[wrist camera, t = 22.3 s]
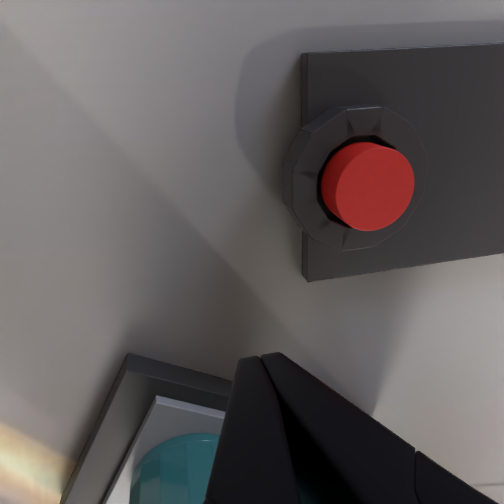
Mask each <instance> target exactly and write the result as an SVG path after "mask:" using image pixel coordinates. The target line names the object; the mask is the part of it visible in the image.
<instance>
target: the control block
mask: <svg viewBox="0 0 504 504" xmlns="http://www.w3.org/2000/svg"><path fill="white" fill-rule="evenodd" d="M356 142H371V143H374V144H377V145H381V146H384V147H387V148H391V149H394V150H396V151H398V152H399V153H401V154H402V155H403V156H404V157H405V158H406V159H407V160H408V162H409V163H410V165H411V168H412V170H413V174H414V190H413V195H412V198H411V200H410V203H409V204H408V206H407V208H406V209H405V211H404V212H403V213H402V215H401V216H400V217H399V218H398V219H397V220H395V221H394V222H393V223H391V224H390V225H388V226H386V227H384V228H381V229H378V230H374V231H362V230H357V229H355V228H353V227H351V226H349V225H348V224H346V223H345V222H344V221H343V220H341V219H340V218H339V217H337V216H336V215H335V214H333V213H332V212H331V211H330V210H329V209H328V208H327V206H326V205H325V203H324V201H323V198H322V194H321V179H322V175H323V172H324V169H325V167H326V165H327V163H328V162H329V160H330V159H331V158H332V156H333V155H334V154H335V153H336V152H338V151H339V150H340V149H342V148H343V147H345V146H347V145H349V144H352V143H356ZM282 188H283V202H284V204H285V205H286V207H287V208H288V210H289V212H290V213H291V215H292V216H293V218H294V219H295V221H296V223H297V224H298V226H299V227H300V228H301V229H302V276H303V277H304V278H305V280H306V281H307V282H312V281H318V280H325V279H332V278H339V277H345V276H352V275H359V274H366V273H373V272H379V271H386V270H393V269H400V268H406V267H413V266H420V265H427V264H433V263H440V262H447V261H454V260H460V259H467V258H474V257H481V256H488V255H494V254H501V253H504V43H490V44H470V45H450V46H430V47H410V48H390V49H370V50H350V51H330V52H309V53H303V54H301V129H300V130H299V132H298V134H297V136H296V138H295V140H294V141H293V143H292V145H291V147H290V149H289V151H288V153H287V155H286V157H285V159H284V161H283V165H282Z"/></svg>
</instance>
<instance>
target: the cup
mask: <svg viewBox="0 0 504 504" xmlns="http://www.w3.org/2000/svg"><path fill="white" fill-rule="evenodd" d="M219 437H220V435H216V434H211V433H192V434H186V435H181V436H178V437H175V438H172V439H169V440H167V441H165V442H163V443H161V444H159V445H157V446H156V447H154V448H153V449H152V450H150V451H149V452H148V453H147V454H146V455H145V456H144V457H143V458H142V459H141V460H140V462H139V463H138V464H137V466H136V468H135V470H134V472H133V474H132V478H131V484H130V496H129V504H203V501H204V500H205V494H206V490H207V486H208V482H209V477H210V473H211V469H212V465H213V461H214V457H215V453H216V449H217V445H218V441H219Z"/></svg>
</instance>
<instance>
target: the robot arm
mask: <svg viewBox="0 0 504 504" xmlns="http://www.w3.org/2000/svg"><path fill="white" fill-rule="evenodd" d="M203 504H498V503H497V502H495V501H494V500H492V499H490V498H489V497H487V496H486V495H484V494H482V493H481V492H479V491H477V490H476V489H474V488H473V487H471V486H469V485H468V484H467V483H465V482H464V481H462V480H461V479H459V478H458V477H456V476H455V475H453V474H452V473H450V472H449V471H447V470H446V469H444V468H443V467H441V466H440V465H438V464H437V463H436V462H434V461H433V460H431V459H430V458H429V457H427V456H426V455H424V454H423V453H422V452H420V451H416V450H415V448H414V447H413V446H411V445H410V444H409V443H407V442H406V441H404V440H403V439H402V438H400V437H399V436H397V435H396V434H395V433H393V432H392V431H390V430H389V429H388V428H386V427H385V426H383V425H382V424H381V423H379V422H378V421H376V420H375V419H373V418H372V417H371V416H369V415H368V414H366V413H365V412H364V411H362V410H361V409H359V408H358V407H357V406H355V405H354V404H352V403H351V402H350V401H348V400H347V399H345V398H344V397H343V396H341V395H340V394H338V393H337V392H336V391H334V390H333V389H331V388H330V387H328V386H327V385H326V384H324V383H323V382H321V381H320V380H319V379H317V378H316V377H314V376H313V375H312V374H310V373H309V372H307V371H306V370H305V369H303V368H302V367H300V366H299V365H298V364H296V363H295V362H293V361H292V360H291V359H289V358H288V357H286V356H285V355H283V354H282V353H280V352H275V353H269V354H264V355H261V357H260V358H259V357H258V356H252V357H246V358H241V359H240V360H239V361H238V364H237V368H236V372H235V376H234V381H233V385H232V389H231V393H230V397H229V401H228V405H227V409H226V413H225V417H224V421H223V425H222V429H221V433H220V437H219V441H218V445H217V449H216V453H215V457H214V461H213V465H212V469H211V473H210V477H209V482H208V486H207V490H206V494H205V500H204V501H203Z"/></svg>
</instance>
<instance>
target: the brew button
mask: <svg viewBox="0 0 504 504" xmlns="http://www.w3.org/2000/svg"><path fill="white" fill-rule="evenodd" d="M413 190H414V174H413V170H412V168H411V165H410V163H409V162H408V160H407V159H406V158H405V157H404V156H403V155H402V154H401V153H399V152H398V151H396V150H394V149H391V148H387V147H384V146H381V145H377V144H374V143H371V142H356V143H352V144H349V145H347V146H345V147H343V148H342V149H340V150H339V151H338V152H336V153H335V154H334V155H333V156H332V158H331V159H330V160H329V162H328V163H327V165H326V167H325V169H324V172H323V175H322V179H321V194H322V198H323V201H324V203H325V205H326V206H327V208H328V209H329V210H330V211H331V212H332V213H333V214H335V215H336V216H337V217H339V218H340V219H341V220H343V221H344V222H345V223H346V224H348V225H349V226H351V227H353V228H355V229H357V230H362V231H374V230H378V229H381V228H384V227H386V226H388V225H390V224H391V223H393V222H394V221H395V220H397V219H398V218H399V217H400V216H401V215H402V213H403V212H404V211H405V209H406V208H407V206H408V204H409V203H410V200H411V198H412V195H413Z"/></svg>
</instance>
